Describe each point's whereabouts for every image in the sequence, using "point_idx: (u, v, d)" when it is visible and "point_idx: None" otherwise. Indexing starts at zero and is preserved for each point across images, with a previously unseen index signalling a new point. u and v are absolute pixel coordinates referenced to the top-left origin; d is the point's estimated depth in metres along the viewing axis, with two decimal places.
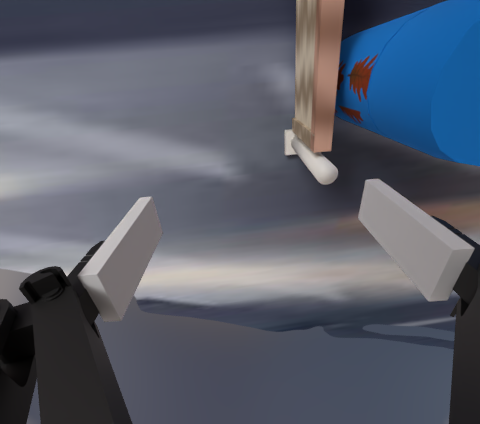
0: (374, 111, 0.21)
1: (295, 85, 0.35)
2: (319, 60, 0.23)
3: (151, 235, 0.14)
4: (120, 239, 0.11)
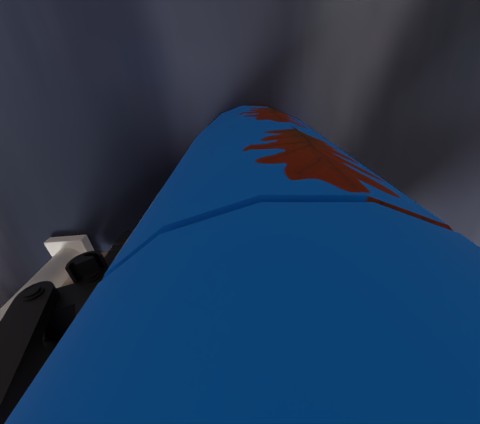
0: None
1: None
2: None
3: None
4: None
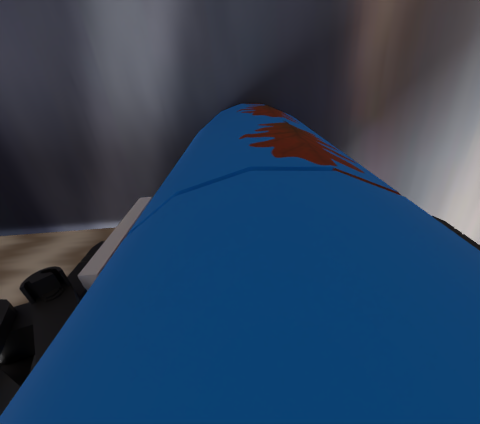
0: None
1: None
2: None
3: None
4: (120, 239, 0.11)
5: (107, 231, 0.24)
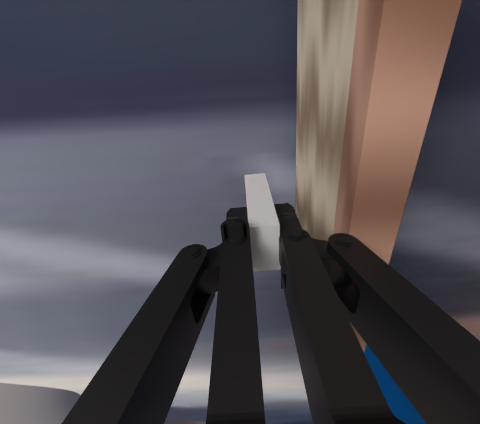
0: None
1: None
2: None
3: None
4: (259, 203, 0.12)
5: None
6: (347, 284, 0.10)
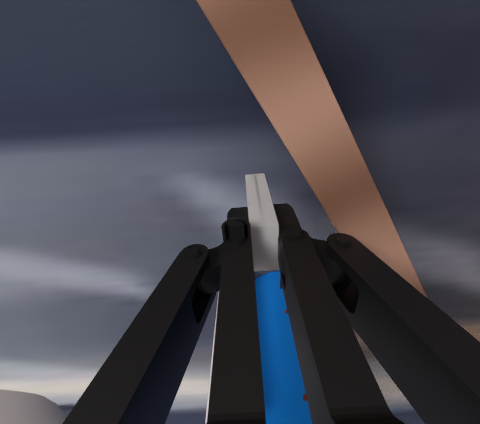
0: None
1: None
2: None
3: None
4: (260, 203, 0.12)
5: None
6: (346, 284, 0.10)
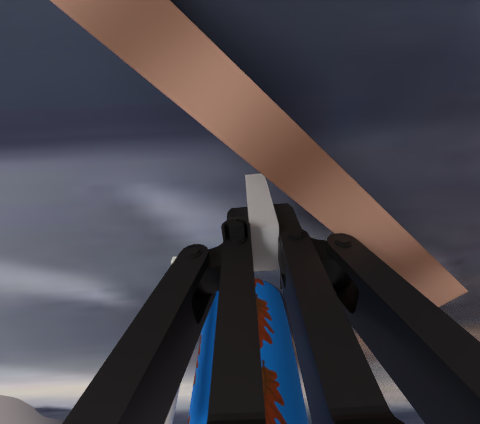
0: None
1: None
2: (317, 216, 0.09)
3: None
4: (260, 203, 0.12)
5: None
6: (346, 284, 0.10)
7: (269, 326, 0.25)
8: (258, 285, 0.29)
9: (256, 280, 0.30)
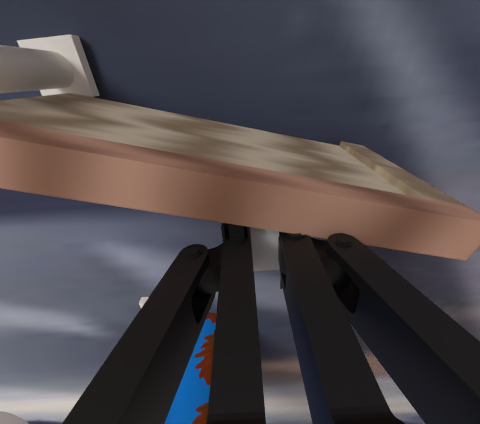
0: None
1: None
2: (272, 228, 0.10)
3: None
4: None
5: (299, 139, 0.19)
6: (346, 284, 0.10)
7: None
8: None
9: None
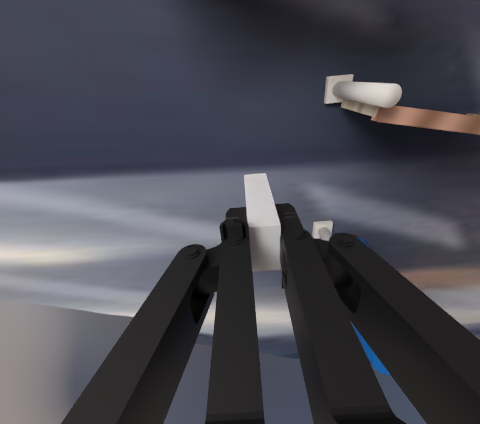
0: (353, 326, 0.43)
1: None
2: None
3: None
4: (258, 203, 0.12)
5: None
6: (348, 284, 0.10)
7: None
8: (357, 237, 0.54)
9: (355, 235, 0.55)
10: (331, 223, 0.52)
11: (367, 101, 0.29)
